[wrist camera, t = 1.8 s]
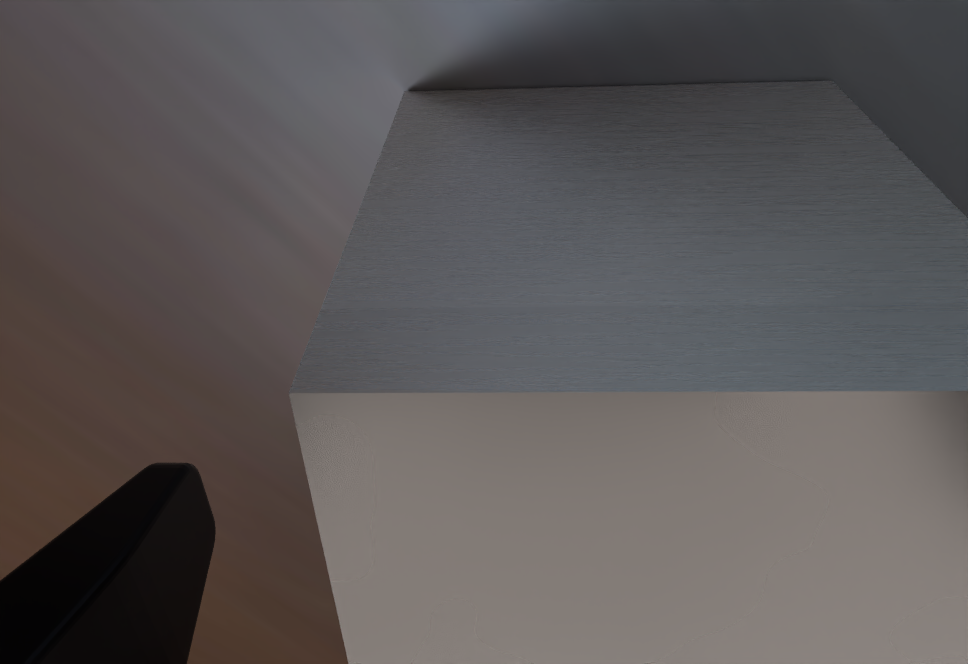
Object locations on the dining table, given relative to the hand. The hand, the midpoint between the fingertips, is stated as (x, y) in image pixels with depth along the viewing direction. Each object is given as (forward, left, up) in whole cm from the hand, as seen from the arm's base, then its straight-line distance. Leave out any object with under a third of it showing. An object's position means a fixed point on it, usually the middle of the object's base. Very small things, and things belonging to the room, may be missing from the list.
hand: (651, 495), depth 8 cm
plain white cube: (0, 0, -4) cm, 4 cm away
